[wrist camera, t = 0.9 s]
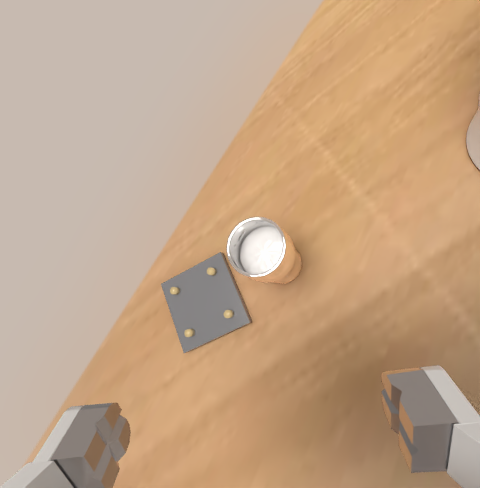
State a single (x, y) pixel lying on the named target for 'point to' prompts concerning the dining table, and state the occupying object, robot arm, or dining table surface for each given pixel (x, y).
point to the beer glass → (263, 251)
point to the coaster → (205, 303)
